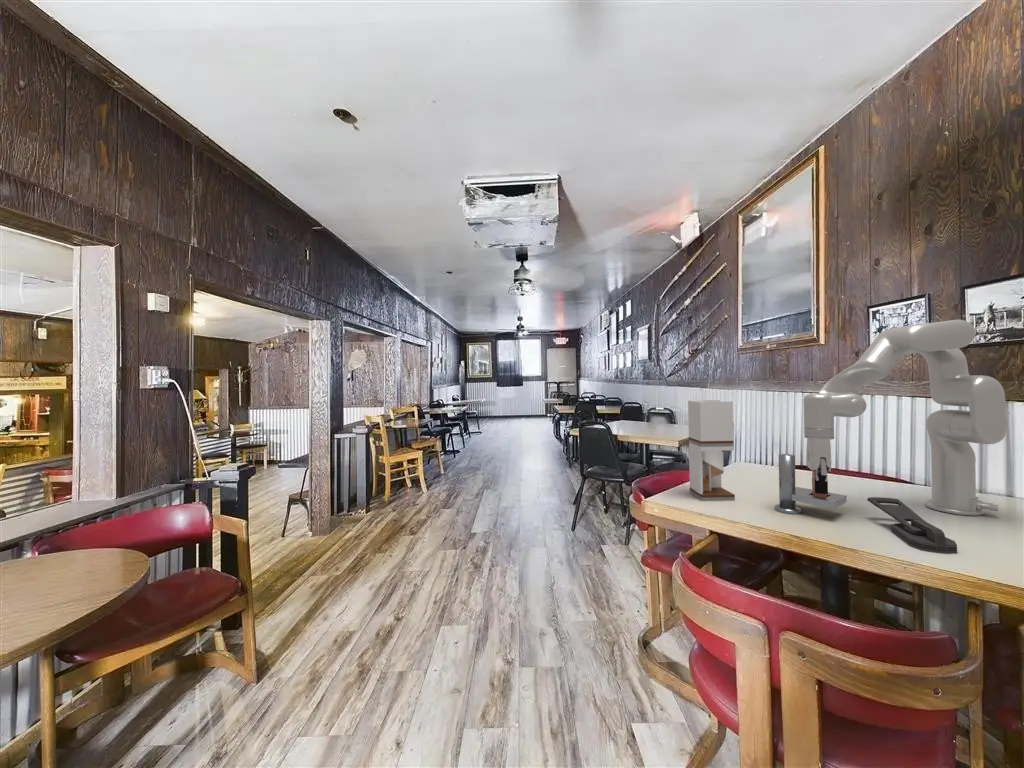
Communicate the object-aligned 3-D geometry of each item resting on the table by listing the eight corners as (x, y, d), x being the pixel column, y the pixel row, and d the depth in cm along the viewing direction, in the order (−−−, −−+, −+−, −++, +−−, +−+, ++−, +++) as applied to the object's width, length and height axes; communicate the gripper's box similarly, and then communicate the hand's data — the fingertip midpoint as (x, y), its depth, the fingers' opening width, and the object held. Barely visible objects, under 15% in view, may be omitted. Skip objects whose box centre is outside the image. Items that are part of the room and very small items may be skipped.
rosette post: (846, 514, 126) (845, 457, 126) (832, 524, 118) (831, 462, 118) (787, 502, 139) (786, 450, 139) (770, 510, 132) (769, 455, 132)
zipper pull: (899, 498, 120) (965, 528, 97) (900, 520, 121) (965, 555, 97) (863, 496, 123) (918, 524, 99) (863, 518, 123) (918, 551, 99)
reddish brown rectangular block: (812, 499, 129) (812, 468, 129) (824, 500, 128) (824, 469, 128) (814, 502, 126) (814, 470, 126) (826, 503, 125) (826, 471, 125)
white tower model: (701, 500, 143) (700, 402, 143) (689, 492, 154) (688, 400, 154) (734, 500, 143) (733, 401, 142) (720, 492, 153) (718, 399, 153)
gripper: (799, 429, 136) (800, 484, 136) (809, 436, 121) (810, 497, 121) (827, 430, 132) (828, 486, 133) (841, 437, 118) (842, 500, 118)
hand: (819, 491), depth 127 cm, fingers closed on reddish brown rectangular block, 3 cm apart
